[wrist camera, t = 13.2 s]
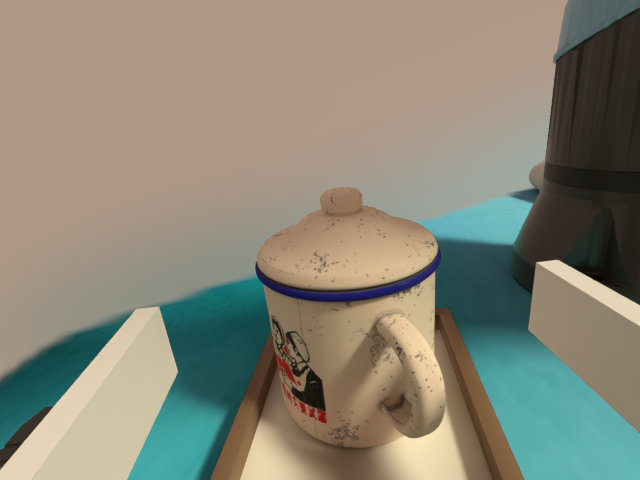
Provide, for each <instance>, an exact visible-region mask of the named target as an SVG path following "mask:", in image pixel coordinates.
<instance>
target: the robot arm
mask: <svg viewBox="0 0 640 480" xmlns="http://www.w3.org/2000/svg"><path fill="white" fill-rule="evenodd" d="M553 63H555V64H556V71H555V79H554V88H553V98H552V106H551V115H550V124H549V133H548V141H547V149H546V156H545V167H544V175H543V182H542V187H541V190H540V192H539V194H538V196H537V198H536V200H535V202H534V204H533V206H532V208H531V210H530V212H529V214H528V216H527V218H526V220H525V222H524V224H523V226H522V228H521V230H520V232H519V234H518V236H517V238H516V240H515V242H514V246H513V251H512V262H511V271H512V274H513V276H514V277H515V278H516V280H517V281H518V282H519V283H520V284H521V285H522V286H524V287H525V288H526V289H528V290H529V291H531V292H532V302H531V310H530V319H529V327H528V330H529V331H530V332H531V333H532V334H534V335H535V336H536V337H537V338H538V339H539V340H540V341H541V342H542V343H543V344H544V345H545V346H546V347H547V348H549V349H550V350H551V351H552V352H553V353H554V354H555V355H556V356H557V357H558V358H559V359H560V360H561V361H563V362H564V363H565V364H566V365H567V366H568V367H569V368H570V369H571V370H572V371H573V372H574V373H575V374H577V375H578V376H579V377H580V378H581V379H582V380H583V381H584V382H585V383H586V384H587V385H588V386H589V387H591V388H592V389H593V390H594V391H595V392H596V393H597V394H598V395H599V396H600V397H601V398H602V399H603V400H604V401H606V402H607V403H608V404H609V405H610V406H611V407H612V408H613V409H614V410H615V411H616V412H617V413H618V414H620V415H621V416H622V417H623V418H624V419H625V420H626V421H627V422H628V423H629V424H630V425H631V426H632V427H634V428H635V429H636V430H637V431H638V432H639V433H640V0H568V2H567V5H566V7H565V11H564V16H563V21H562V27H561V33H560V38H559V44H558V49H557V53H556V54H555V55H554V61H553ZM177 373H178V370H177V367H176V363H175V360H174V356H173V353H172V349H171V346H170V343H169V339H168V336H167V332H166V329H165V326H164V322H163V319H162V315H161V312H160V309H159V307H150V308H142V309H136V310H135V311H134V313H133V314H132V315H131V316H130V317H129V318H128V320H127V321H126V322H125V323H124V324H123V326H122V327H121V328H120V329H119V330H118V331H117V333H116V334H115V335H114V336H113V337H112V339H111V340H110V341H109V342H108V343H107V344H106V346H105V347H104V348H103V349H102V350H101V352H100V353H99V354H98V355H97V356H96V357H95V359H94V360H93V361H92V362H91V363H90V365H89V366H88V367H87V368H86V369H85V370H84V372H83V373H82V374H81V375H80V376H79V378H78V379H77V380H76V381H75V382H74V383H73V385H72V386H71V387H70V388H69V389H68V390H67V392H66V393H65V394H64V395H63V396H62V398H61V399H60V400H59V401H58V402H57V403H56V405H55V406H53V407H46V408H44V409H43V410H42V411H40V412H39V413H38V414H36V415H35V416H34V417H33V418H31V419H30V420H29V421H27V422H26V423H25V424H23V425H22V426H21V427H20V429H19V430H18V431H17V432H16V433H15V434H14V435H13V436H12V438H11V439H10V440H9V441H8V442H7V443H6V444H5V448H4V449H1V450H0V480H127V478H128V476H129V474H130V472H131V470H132V468H133V466H134V463H135V461H136V459H137V457H138V455H139V453H140V451H141V449H142V447H143V445H144V442H145V440H146V438H147V436H148V434H149V432H150V430H151V428H152V426H153V423H154V421H155V419H156V417H157V415H158V413H159V411H160V409H161V407H162V405H163V402H164V400H165V398H166V396H167V394H168V392H169V390H170V388H171V386H172V384H173V381H174V379H175V377H176V375H177Z"/></svg>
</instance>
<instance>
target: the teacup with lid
mask: <svg viewBox="0 0 640 480" xmlns="http://www.w3.org/2000/svg"><path fill="white" fill-rule="evenodd" d="M320 202H321V208H322V209H321V210H318V211H315V212H313V213H311V214H309V215H307V216H306V217H304V218H303V219H302V220H301V221H299V222H298V223H297V224H296V225H293V226H290V227H288V228H286V229H283V230H281V231H279V232H277V233H276V234H274V235H273V236H271V237H270V238H269V239H267V240H266V241H265V243H264V244H263V245H262V246H261V249H260V250H259V253H258V256H257V262H256V274H257V276H258V278H259V280H260V281H261V282H262V283H263V286H264V291H265V297H266V303H267V308H268V314H269V320H270V325H271V331H272V337H273V342H274V348H275V354H276V360H277V365H278V371H279V377H280V382H281V388H282V394H283V399H284V403H285V406H286V408H287V411H288V412H289V414H290V416H291V417H292V419H293V420H294V421H295V422H296V423H297V425H298V426H299V427H300V428H302V429H303V430H304V431H305V432H307V433H308V434H310V435H311V436H313V437H315V438H317V439H319V440H321V441H323V442H326V443H329V444H332V445H337V446H341V447H349V448H367V447H374V446H379V445H383V444H387V443H390V442H393V441H395V440H397V439H399V438H401V437H403V436H406V437H409V438H420V437H423V436H425V435H428V434H430V433H432V432H434V431H435V430H436V429H437V428H438V427H439V425H440V424H441V422H442V419H443V417H444V413H445V405H446V393H445V385H444V380H443V376H442V373H441V370H440V367H439V364H438V362H437V360H436V358H435V355H434V332H435V270H436V269H437V267H438V265H439V263H440V260H441V253H440V249H439V247H438V245H437V241H436V240H435V238H434V236H433V235H432V234H431V232H430V231H429V230H427V229H426V228H425V227H423V226H421V225H420V224H418V223H415V222H413V221H410V220H407V219H403V218H398V217H392V216H390V215H388V214H386V213H384V212H383V211H381V210H378V209H376V208H373V207H368V206H362V195H361V193H360V191H359V190H357V189H355V188H335V189H330V190H327V191H325V192H324V193H323V194H322V196H321V198H320Z"/></svg>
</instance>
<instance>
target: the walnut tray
mask: <svg viewBox="0 0 640 480" xmlns="http://www.w3.org/2000/svg"><path fill="white" fill-rule="evenodd" d="M434 355H435V358H436V360H437V362H438V364H439V367H440V370H441V373H442V376H443V380H444V385H445V393H446V405H445V413H444V417H443V419H442V422H441V424H440V425H439V427H438V428H437V429H436V430H435V431H434V432H432V433H430V434H428V435H425V436H423V437H420V438H409V437H406V436H403V437H401V438H399V439H397V440H395V441H393V442H390V443H387V444H383V445H379V446H374V447H367V448H349V447H341V446H337V445H332V444H329V443H326V442H323V441H321V440H319V439H317V438H315V437H313V436H311V435H310V434H308V433H307V432H305V431H304V430H303V429H302V428H300V427H299V426H298V425H297V423H296V422H295V421H294V420H293V419H292V417H291V416H290V414H289V412H288V411H287V408H286V406H285V403H284V399H283V394H282V388H281V382H280V377H279V371H278V365H277V360H276V354H275V348H274V342H273V337H272V331H271V332H270V334H269V337H268V339H267V342H266V344H265V346H264V349H263V351H262V354H261V356H260V359H259V361H258V364H257V366H256V368H255V371H254V373H253V376H252V378H251V381H250V383H249V386H248V388H247V390H246V393H245V395H244V398H243V400H242V403H241V405H240V408H239V410H238V412H237V415H236V417H235V420H234V422H233V425H232V427H231V430H230V432H229V435H228V437H227V439H226V442H225V444H224V447H223V449H222V452H221V454H220V457H219V459H218V461H217V464H216V466H215V469H214V471H213V474H212V476H211V479H210V480H524V478H523V475H522V473H521V471H520V469H519V466H518V464H517V462H516V460H515V457H514V455H513V453H512V451H511V448H510V446H509V444H508V441H507V439H506V437H505V435H504V432H503V430H502V428H501V426H500V423H499V421H498V419H497V416H496V414H495V412H494V410H493V407H492V405H491V403H490V401H489V398H488V396H487V394H486V392H485V389H484V387H483V385H482V382H481V380H480V378H479V376H478V373H477V371H476V369H475V367H474V364H473V362H472V360H471V357H470V355H469V353H468V351H467V348H466V346H465V344H464V342H463V339H462V337H461V335H460V333H459V330H458V328H457V326H456V323H455V321H454V319H453V317H452V314H451V312H450V310H449V308H435V332H434Z"/></svg>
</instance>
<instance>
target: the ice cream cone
mask: <svg viewBox="0 0 640 480" xmlns="http://www.w3.org/2000/svg"><path fill="white" fill-rule="evenodd" d="M544 167H545V161H543V162H541V163H539V164H537V165H536V166H534V167H533V168H532V170H531V172H530V174H529V180H530V182H531V184H532V185H533V186H534V187H535V188H537V189H538V190H539V191H540V190H541V187H542V182H543V175H544Z"/></svg>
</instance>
